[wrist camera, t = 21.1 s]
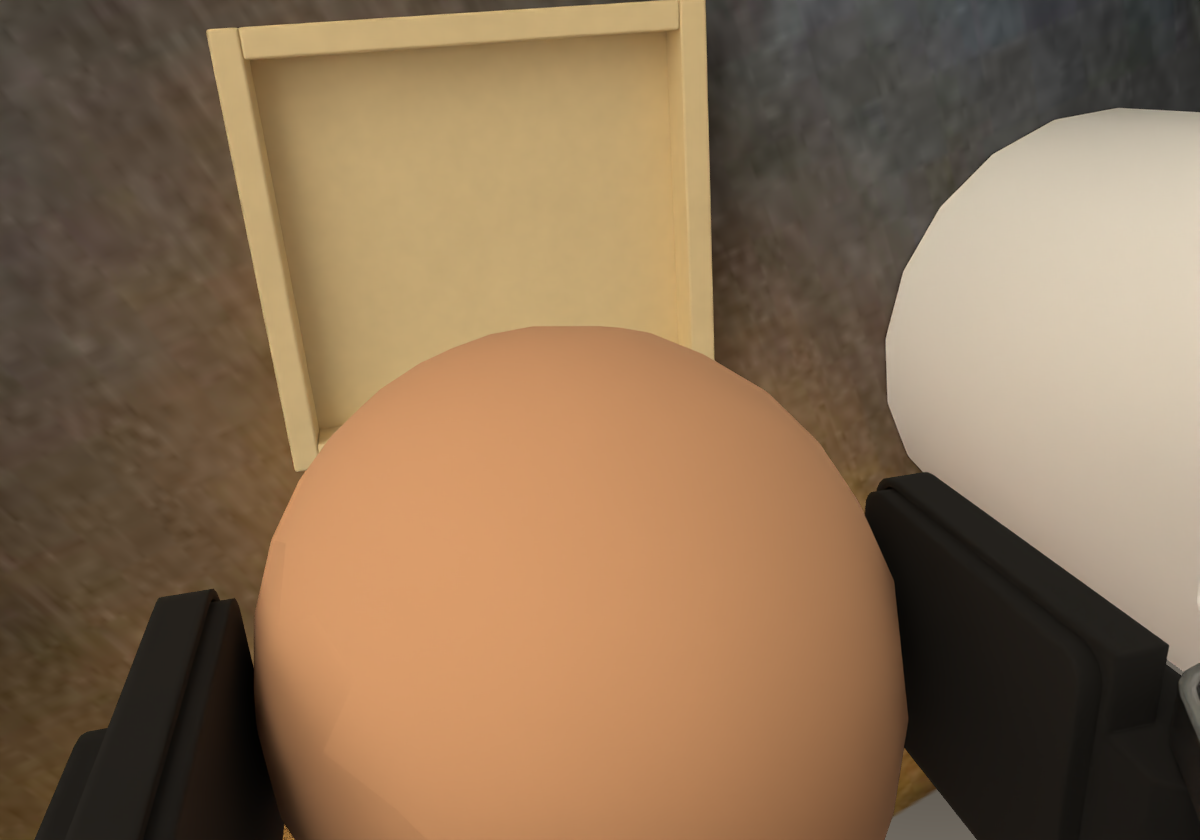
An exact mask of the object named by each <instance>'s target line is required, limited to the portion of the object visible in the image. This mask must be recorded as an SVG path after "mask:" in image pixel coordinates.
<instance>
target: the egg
mask: <svg viewBox="0 0 1200 840" xmlns="http://www.w3.org/2000/svg"><path fill="white" fill-rule="evenodd" d="M254 701H255V716H256V726H257V732H258V736H259V740H260V744H261V747H262V751H263V755H264V759H265V762H266V766H267V770H268V774H269V777H270V781H271V784H272V788H273V791H274V795H275V798H276V802H277V806H278V809H279V813H280V816H281V819H282V821H283V822H284V824H285V825H286V827H287V828H288V830H289V831H290V833H291V834H292V836H293V837H294V839H295V840H885V837H886V834H887V831H888V828H889V825H890V822H891V819H892V816H893V813H894V808H895V801H896V795H897V789H898V782H899V776H900V770H901V763H902V757H903V751H904V744H905V738H906V732H907V726H908V710H907V700H906V690H905V681H904V671H903V661H902V652H901V642H900V632H899V623H898V613H897V604H896V594H895V584H894V579H893V577H892V575H891V573H890V570H889V568H888V566H887V564H886V561H885V559H884V557H883V555H882V552H881V550H880V548H879V546H878V543H877V541H876V539H875V537H874V534H873V532H872V530H871V528H870V526H869V523H868V521H867V519H866V517H865V515H864V512H863V510H862V508H861V506H860V504H859V501H858V500H857V498H856V497H855V495H854V494H853V492H852V491H851V489H850V488H849V486H848V485H847V483H846V482H845V480H844V479H843V477H842V476H841V474H840V473H839V471H838V470H837V468H836V467H835V466H834V464H833V463H832V461H831V460H830V458H829V457H828V455H827V454H826V452H825V451H824V449H823V448H822V446H821V445H820V443H819V442H818V441H817V440H816V439H815V438H814V437H813V436H812V435H811V434H810V433H809V432H808V431H807V430H806V429H805V428H804V427H803V426H802V425H801V424H800V423H799V422H797V421H796V420H795V419H794V418H793V417H792V416H791V415H790V414H789V413H788V412H787V411H786V410H785V409H784V408H783V407H782V406H781V405H780V404H779V403H778V402H777V401H776V400H775V399H774V398H773V397H772V396H771V395H770V394H769V393H768V392H767V391H765V390H763V389H761V388H760V387H758V386H756V385H755V384H753V383H751V382H750V381H748V380H746V379H745V378H743V377H741V376H739V375H738V374H736V373H734V372H733V371H731V370H729V369H728V368H726V367H724V366H722V365H721V364H719V363H717V362H716V361H714V360H712V359H711V358H709V357H707V356H706V355H704V354H702V353H699V352H697V351H694V350H692V349H689V348H687V347H684V346H682V345H679V344H677V343H674V342H672V341H669V340H667V339H664V338H662V337H659V336H657V335H654V334H652V333H648V332H642V331H637V330H631V329H625V328H618V327H605V326H531V327H526V328H521V329H516V330H510V331H505V332H500V333H494V334H490V335H487V336H484V337H481V338H479V339H476V340H473V341H470V342H468V343H465V344H462V345H460V346H457V347H454V348H452V349H449V350H447V351H445V352H443V353H441V354H439V355H436V356H434V357H432V358H430V359H428V360H426V361H423V362H421V363H419V364H418V365H416V366H415V367H413V368H412V369H410V370H409V371H407V372H406V373H404V374H403V375H401V376H400V377H398V378H396V379H395V380H393V381H392V382H390V383H389V384H387V385H386V386H384V387H383V388H381V389H380V390H379V391H378V392H377V393H376V394H374V395H373V396H372V397H371V398H370V399H369V400H368V401H367V402H366V403H365V404H364V405H362V406H361V407H360V408H359V409H358V410H357V411H356V412H355V413H354V414H353V415H352V416H351V417H350V418H349V419H348V420H347V421H346V422H345V423H344V424H343V425H342V426H341V427H340V428H339V429H338V430H337V431H336V432H335V433H334V434H333V435H332V436H331V437H330V439H329V440H328V441H327V443H326V444H325V445H324V447H323V448H322V449H321V451H320V452H319V454H318V455H317V456H316V458H315V459H314V460H313V462H312V463H311V464H310V466H309V467H308V469H307V470H306V471H305V473H304V474H303V475H302V477H301V478H300V480H299V482H298V484H297V486H296V488H295V491H294V493H293V495H292V497H291V499H290V501H289V503H288V506H287V508H286V510H285V512H284V514H283V516H282V518H281V521H280V523H279V525H278V527H277V529H276V531H275V533H274V535H273V538H272V540H271V544H270V549H269V553H268V557H267V562H266V566H265V571H264V575H263V580H262V584H261V588H260V593H259V597H258V602H257V606H256V611H255V615H254Z"/></svg>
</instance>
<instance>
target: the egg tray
mask: <svg viewBox="0 0 1200 840" xmlns="http://www.w3.org/2000/svg"><path fill="white" fill-rule="evenodd" d="M206 34H207V39H208V44H209V49H210V54H211V59H212V64H213V68H214V73H215V78H216V83H217V88H218V93H219V98H220V103H221V108H222V113H223V118H224V123H225V128H226V133H227V138H228V143H229V148H230V153H231V158H232V162H233V167H234V172H235V177H236V182H237V187H238V192H239V197H240V202H241V207H242V212H243V217H244V222H245V227H246V232H247V237H248V242H249V247H250V251H251V256H252V261H253V266H254V271H255V276H256V281H257V286H258V291H259V296H260V301H261V306H262V311H263V316H264V321H265V326H266V331H267V336H268V341H269V345H270V350H271V355H272V360H273V365H274V370H275V375H276V380H277V385H278V390H279V395H280V400H281V405H282V410H283V415H284V420H285V425H286V430H287V434H288V439H289V444H290V449H291V454H292V459H293V464H294V469H295V471H297V472H299V471H306V470H307V469H308V467H309V466H310V464H311V463H312V462H313V460H314V459H315V458H316V456H317V455H318V454H319V452H320V451H321V449H322V448H323V447H324V445H325V444H326V443H327V441H328V440H329V439H330V437H331V436H332V435H333V434H334V433H335V432H336V431H337V430H338V429H339V428H340V427H341V426H342V425H343V424H344V423H345V422H346V421H347V420H348V419H349V418H350V417H351V416H352V415H353V414H354V413H355V412H356V411H357V410H358V409H359V408H360V407H361V406H362V405H364V404H365V403H366V402H367V401H368V400H369V399H370V398H371V397H372V396H373V395H374V394H376V393H377V392H378V391H379V390H380V389H381V388H383V387H384V386H386V385H387V384H389V383H390V382H392V381H393V380H395V379H396V378H398V377H400V376H401V375H403V374H404V373H406V372H407V371H409V370H410V369H412V368H413V367H415V366H416V365H418V364H419V363H421V362H423V361H426V360H428V359H430V358H432V357H434V356H436V355H439V354H441V353H443V352H445V351H447V350H449V349H452V348H454V347H457V346H460V345H462V344H465V343H468V342H470V341H473V340H476V339H479V338H481V337H484V336H487V335H490V334H494V333H500V332H505V331H510V330H516V329H521V328H526V327H531V326H605V327H618V328H625V329H631V330H637V331H642V332H648V333H652V334H654V335H657V336H659V337H662V338H664V339H667V340H669V341H672V342H674V343H677V344H679V345H682V346H684V347H687V348H689V349H692V350H694V351H697V352H699V353H702V354H704V355H706V356H707V357H709V358H711V359H712V360H714V361H715V359H714V319H713V280H712V240H711V201H710V161H709V121H708V82H707V42H706V3H705V0H659V1H643V2H627V3H612V4H596V5H580V6H565V7H549V8H533V9H518V10H502V11H486V12H470V13H455V14H439V15H423V16H408V17H392V18H376V19H361V20H345V21H329V22H314V23H298V24H282V25H267V26H251V27H240V28H239V29H237V28H220V29H209V30H207V33H206Z"/></svg>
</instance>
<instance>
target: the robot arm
mask: <svg viewBox="0 0 1200 840" xmlns="http://www.w3.org/2000/svg"><path fill="white" fill-rule="evenodd" d="M865 517H866V519H867V521H868V523H869V526H870V528H871V530H872V532H873V534H874V537H875V539H876V541H877V543H878V546H879V548H880V550H881V552H882V555H883V557H884V559H885V561H886V564H887V566H888V568H889V570H890V573H891V575H892V577H893V579H894V584H895V594H896V604H897V613H898V623H899V632H900V642H901V652H902V661H903V671H904V681H905V690H906V700H907V710H908V726H907V732H906V738H905V744H904V748H905V749H906V750H907V752H908V753H909V754H910V755H911V757H912V758H913V759H914V761H915V762H916V763H917V764H918V766H919V767H920V768H921V769H922V771H923V772H924V773H925V774H926V776H927V777H928V778H929V780H930V781H931V782H932V783H933V785H934V786H935V787H936V788H937V790H938V791H939V792H940V793H941V795H942V796H943V797H944V799H945V800H946V801H947V802H948V803H949V805H950V806H951V807H952V809H953V810H954V811H955V812H956V814H957V815H958V816H959V817H960V819H961V820H962V821H963V823H964V824H965V825H966V826H967V827H968V829H969V830H970V831H971V833H972V834H973V835H974V836H975V838H976V839H977V840H1200V663H1198V664H1196V665H1194V666H1192V667H1190V668H1189V669H1187V670H1185V671H1184V673H1183V674H1182V676H1181V675H1180V674H1178V673H1177V672H1176V671H1174V670H1173V669H1172V668H1170V667H1169V666H1168V665H1166V660H1167V655H1168V650H1169V644H1167V643H1166V642H1165V641H1163V640H1162V639H1160V638H1159V637H1158V636H1156V635H1155V634H1153V633H1152V632H1151V631H1149V630H1148V629H1146V628H1145V627H1144V626H1142V625H1141V624H1140V623H1138V622H1137V621H1135V620H1134V619H1133V618H1131V617H1130V616H1128V615H1127V614H1126V613H1124V612H1123V611H1122V610H1120V609H1119V608H1117V607H1116V606H1115V605H1113V604H1112V603H1110V602H1109V601H1108V600H1106V599H1105V598H1104V597H1102V596H1101V595H1099V594H1098V593H1097V592H1095V591H1094V590H1092V589H1091V588H1090V587H1088V586H1087V585H1085V584H1084V583H1083V582H1081V581H1080V580H1079V579H1077V578H1076V577H1074V576H1073V575H1072V574H1070V573H1069V572H1067V571H1066V570H1065V569H1063V568H1062V567H1061V566H1059V565H1058V564H1056V563H1055V562H1054V561H1052V560H1051V559H1049V558H1048V557H1047V556H1045V555H1044V554H1043V553H1041V552H1040V551H1038V550H1037V549H1036V548H1034V547H1033V546H1031V545H1030V544H1029V543H1027V542H1026V541H1024V540H1023V539H1022V538H1020V537H1019V536H1018V535H1016V534H1015V533H1013V532H1012V531H1011V530H1009V529H1008V528H1006V527H1005V526H1004V525H1002V524H1001V523H1000V522H998V521H997V520H995V519H994V518H993V517H991V516H990V515H988V514H987V513H986V512H984V511H983V510H982V509H980V508H979V507H977V506H976V505H975V504H973V503H972V502H970V501H969V500H968V499H966V498H965V497H963V496H962V495H961V494H959V493H958V492H957V491H955V490H954V489H952V488H951V487H950V486H948V485H947V484H945V483H944V482H943V481H941V480H940V479H939V478H937V477H936V476H934V475H933V474H931V473H929V472H922V473H916V474H910V475H904V476H898V477H892V478H886V479H883V480H882V481H881V482H880V483H879V485H878V488H877V491H876V492H871V493H870V494H869V495H868V497H867V500H866V507H865ZM283 830H284V822H283V821H282V819H281V816H280V813H279V809H278V806H277V802H276V798H275V795H274V791H273V788H272V784H271V781H270V777H269V774H268V770H267V766H266V762H265V759H264V755H263V751H262V747H261V744H260V740H259V736H258V732H257V726H256V716H255V701H254V668H253V664H252V660H251V655H250V651H249V647H248V642H247V638H246V634H245V629H244V625H243V621H242V616H241V612H240V609H239V605H238V603H237V601H236V599H235V598H234V599H228V600H222V601H220V599H219V597H218V595H217V592H216V591H215V590H214V589H209V590H203V591H197V592H191V593H185V594H179V595H173V596H166V597H161V598H159V599H158V600H157V602H156V604H155V607H154V609H153V612H152V614H151V617H150V620H149V622H148V625H147V627H146V630H145V633H144V635H143V638H142V640H141V643H140V646H139V648H138V651H137V653H136V656H135V659H134V661H133V664H132V666H131V669H130V672H129V674H128V677H127V679H126V682H125V685H124V687H123V690H122V692H121V695H120V698H119V700H118V703H117V705H116V708H115V711H114V713H113V716H112V718H111V721H110V724H109V726H108V728H105V729H100V730H94V731H89V732H86V733H84V734H83V735H81V736H80V737H79V739H78V741H77V742H76V744H75V746H74V748H73V750H72V753H71V755H70V757H69V760H68V762H67V764H66V767H65V769H64V771H63V774H62V776H61V778H60V781H59V783H58V786H57V788H56V790H55V793H54V795H53V797H52V800H51V802H50V804H49V807H48V809H47V812H46V814H45V816H44V819H43V821H42V823H41V826H40V828H39V830H38V833H37V835H36V837H35V840H283Z"/></svg>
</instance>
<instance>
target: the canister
mask: <svg viewBox="0 0 1200 840" xmlns="http://www.w3.org/2000/svg"><path fill="white" fill-rule="evenodd" d="M885 342H886V373H887V403H888V406H889V408H890V411H891V413H892V416H893V419H894V421H895V424H896V426H897V429H898V432H899V434H900V437H901V439H902V442H903V445H904V447H905V450H906V452H907V455H908V457H909V458H910V459H911V460H912V461H913V462H914V463H915V464H916V465H917V466H918V467H919V468H920V470H921V471H922V472H929V473H931V474H933V475H934V476H936V477H937V478H939V479H940V480H941V481H943V482H944V483H945V484H947V485H948V486H950V487H951V488H952V489H954V490H955V491H957V492H958V493H959V494H961V495H962V496H963V497H965V498H966V499H968V500H969V501H970V502H972V503H973V504H975V505H976V506H977V507H979V508H980V509H982V510H983V511H984V512H986V513H987V514H988V515H990V516H991V517H993V518H994V519H995V520H997V521H998V522H1000V523H1001V524H1002V525H1004V526H1005V527H1006V528H1008V529H1009V530H1011V531H1012V532H1013V533H1015V534H1016V535H1018V536H1019V537H1020V538H1022V539H1023V540H1024V541H1026V542H1027V543H1029V544H1030V545H1031V546H1033V547H1034V548H1036V549H1037V550H1038V551H1040V552H1041V553H1043V554H1044V555H1045V556H1047V557H1048V558H1049V559H1051V560H1052V561H1054V562H1055V563H1056V564H1058V565H1059V566H1061V567H1062V568H1063V569H1065V570H1066V571H1067V572H1069V573H1070V574H1072V575H1073V576H1074V577H1076V578H1077V579H1079V580H1080V581H1081V582H1083V583H1084V584H1085V585H1087V586H1088V587H1090V588H1091V589H1092V590H1094V591H1095V592H1097V593H1098V594H1099V595H1101V596H1102V597H1104V598H1105V599H1106V600H1108V601H1109V602H1110V603H1112V604H1113V605H1115V606H1116V607H1117V608H1119V609H1120V610H1122V611H1123V612H1124V613H1126V614H1127V615H1128V616H1130V617H1131V618H1133V619H1134V620H1135V621H1137V622H1138V623H1140V624H1141V625H1142V626H1144V627H1145V628H1146V629H1148V630H1149V631H1151V632H1152V633H1153V634H1155V635H1156V636H1158V637H1159V638H1160V639H1162V640H1163V641H1165V642H1166V643H1167V644H1169V650H1168V655H1167V660H1168V661H1170V662H1171V663H1172V664H1174V665H1175V666H1177V667H1178V668H1179V669H1181V670H1182V671H1183V672H1184V671H1185V670H1187V669H1189V668H1190V667H1192V666H1194V665H1196V664H1198V663H1200V112H1184V111H1166V110H1147V109H1129V108H1115V109H1109V110H1104V111H1098V112H1093V113H1088V114H1082V115H1077V116H1072V117H1066V118H1061V119H1056V120H1053V121H1051V122H1050V123H1048V124H1046V125H1044V126H1042V127H1041V128H1039V129H1037V130H1035V131H1033V132H1032V133H1030V134H1028V135H1026V136H1024V137H1023V138H1021V139H1019V140H1017V141H1015V142H1014V143H1012V144H1010V145H1008V146H1007V147H1005V148H1003V149H1001V150H999V151H998V152H996V153H994V154H992V155H991V156H990V157H989V158H988V159H987V160H986V161H985V162H984V164H983V165H982V166H981V167H980V168H979V169H978V170H977V171H976V172H975V173H974V174H973V175H972V176H971V177H970V178H969V179H968V180H967V181H966V182H965V183H964V184H963V185H962V186H961V187H960V188H959V189H958V190H957V191H956V192H955V193H954V194H953V195H952V196H951V197H950V198H949V199H948V200H947V201H946V202H945V203H944V204H943V205H942V206H941V207H940V208H939V210H938V212H937V214H936V215H935V217H934V219H933V221H932V222H931V224H930V226H929V228H928V229H927V231H926V233H925V235H924V236H923V238H922V240H921V241H920V243H919V245H918V247H917V248H916V250H915V252H914V254H913V255H912V257H911V259H910V261H909V262H908V264H907V266H906V268H905V269H904V271H903V274H902V278H901V282H900V286H899V290H898V293H897V297H896V301H895V305H894V309H893V312H892V316H891V320H890V324H889V328H888V331H887V335H886V339H885Z"/></svg>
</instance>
